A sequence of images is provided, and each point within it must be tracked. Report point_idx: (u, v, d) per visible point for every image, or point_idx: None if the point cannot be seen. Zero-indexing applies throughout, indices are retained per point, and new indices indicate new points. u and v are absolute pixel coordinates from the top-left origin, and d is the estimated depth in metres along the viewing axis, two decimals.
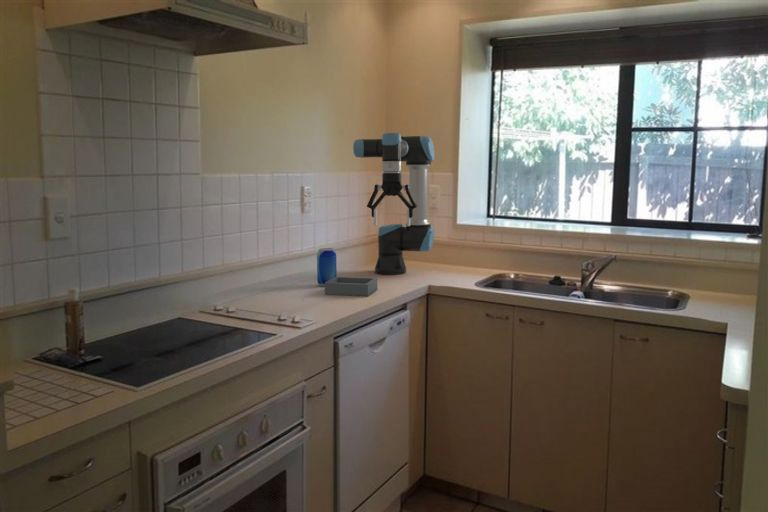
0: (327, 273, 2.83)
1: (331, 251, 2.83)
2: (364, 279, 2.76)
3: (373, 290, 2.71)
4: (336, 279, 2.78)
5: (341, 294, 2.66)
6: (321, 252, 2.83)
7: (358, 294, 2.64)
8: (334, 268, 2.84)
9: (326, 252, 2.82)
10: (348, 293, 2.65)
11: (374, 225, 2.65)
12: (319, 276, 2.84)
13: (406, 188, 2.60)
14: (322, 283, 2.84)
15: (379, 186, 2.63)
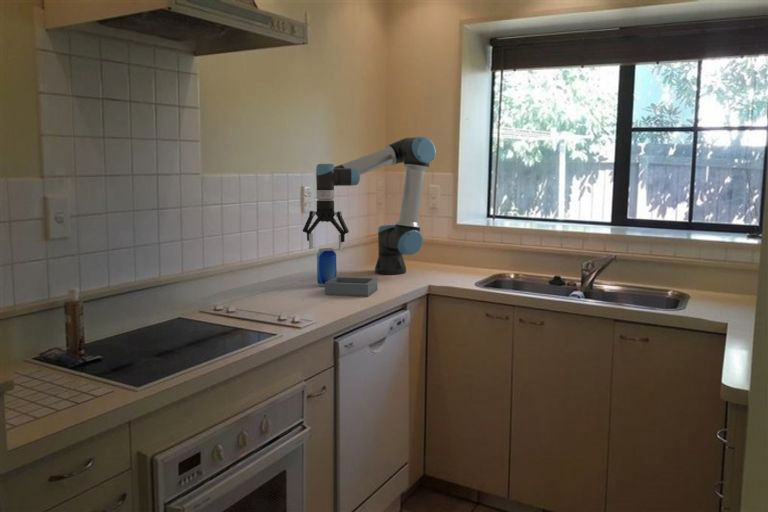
0: (327, 273, 2.83)
1: (331, 251, 2.83)
2: (364, 279, 2.76)
3: (373, 290, 2.71)
4: (336, 279, 2.78)
5: (341, 294, 2.66)
6: (321, 252, 2.83)
7: (358, 294, 2.64)
8: (334, 268, 2.84)
9: (326, 252, 2.82)
10: (348, 293, 2.65)
11: (309, 248, 2.86)
12: (319, 276, 2.84)
13: (338, 215, 2.80)
14: (322, 283, 2.84)
15: (314, 212, 2.84)
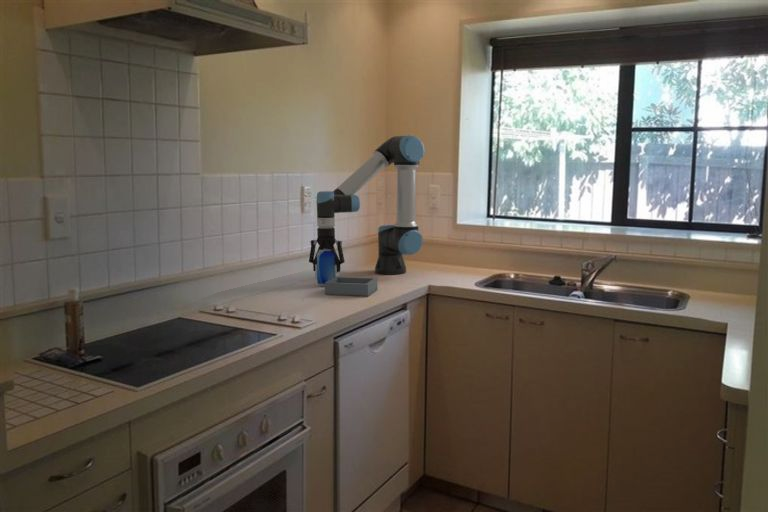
0: (327, 273, 2.83)
1: (331, 251, 2.83)
2: (364, 279, 2.76)
3: (373, 290, 2.71)
4: (336, 279, 2.78)
5: (341, 294, 2.66)
6: (321, 252, 2.83)
7: (358, 294, 2.64)
8: (334, 268, 2.84)
9: (326, 252, 2.82)
10: (348, 293, 2.65)
11: None
12: (319, 276, 2.84)
13: (338, 244, 2.82)
14: (322, 283, 2.84)
15: (315, 241, 2.86)
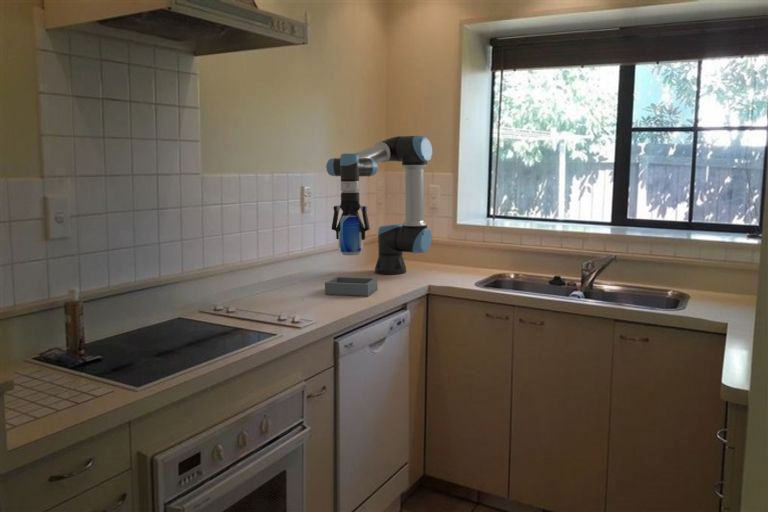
0: (352, 241, 2.65)
1: (355, 217, 2.65)
2: (364, 279, 2.76)
3: (373, 290, 2.71)
4: (336, 279, 2.78)
5: (341, 294, 2.66)
6: (345, 218, 2.65)
7: (358, 294, 2.64)
8: None
9: (350, 218, 2.64)
10: (348, 293, 2.65)
11: (339, 247, 2.69)
12: (343, 244, 2.66)
13: (363, 209, 2.65)
14: (346, 251, 2.66)
15: (338, 206, 2.68)
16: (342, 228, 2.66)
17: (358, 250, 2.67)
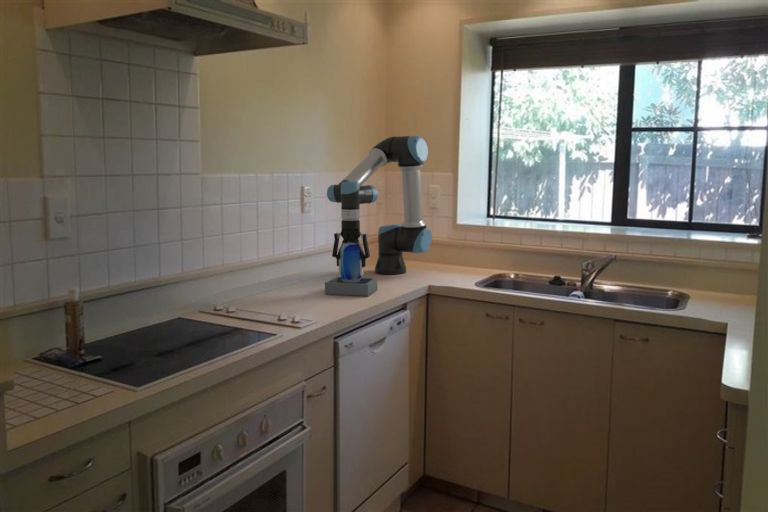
0: (352, 268, 2.67)
1: (356, 245, 2.67)
2: (364, 279, 2.76)
3: (373, 290, 2.71)
4: (336, 279, 2.78)
5: (341, 294, 2.66)
6: (345, 246, 2.66)
7: (358, 294, 2.64)
8: (359, 263, 2.68)
9: (351, 246, 2.66)
10: (348, 293, 2.65)
11: (339, 274, 2.71)
12: (343, 271, 2.68)
13: (363, 237, 2.66)
14: (346, 279, 2.68)
15: (338, 234, 2.70)
16: (342, 256, 2.67)
17: (358, 277, 2.69)
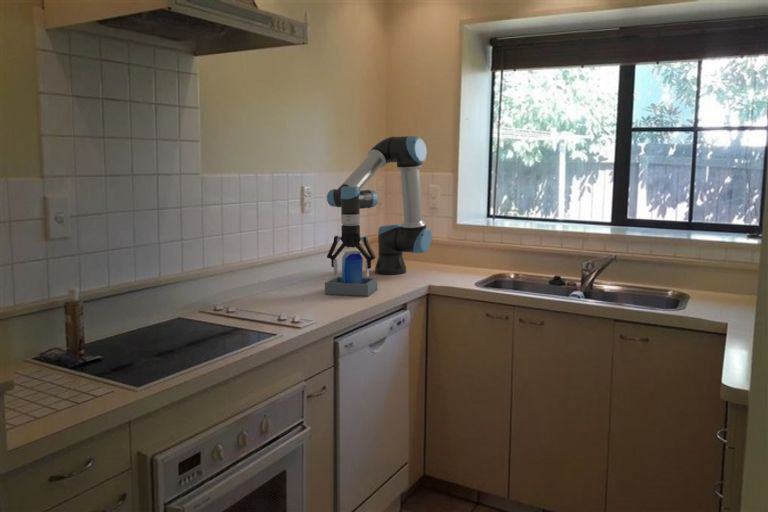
0: (353, 278, 2.68)
1: (358, 254, 2.68)
2: (364, 279, 2.76)
3: (373, 290, 2.71)
4: (336, 279, 2.78)
5: (341, 294, 2.66)
6: (347, 255, 2.67)
7: (358, 294, 2.64)
8: (360, 272, 2.69)
9: (353, 256, 2.67)
10: (348, 293, 2.65)
11: (334, 275, 2.72)
12: (344, 280, 2.69)
13: (364, 240, 2.66)
14: None
15: (338, 237, 2.70)
16: (344, 265, 2.68)
17: None
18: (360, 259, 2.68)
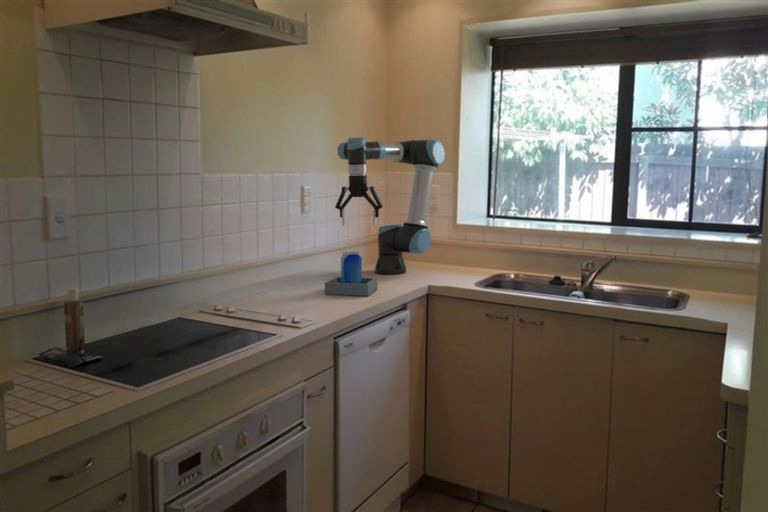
0: (352, 278, 2.67)
1: (356, 255, 2.68)
2: (364, 279, 2.76)
3: (373, 290, 2.71)
4: (336, 279, 2.78)
5: (341, 294, 2.66)
6: (346, 256, 2.67)
7: (358, 294, 2.64)
8: (359, 273, 2.69)
9: (351, 256, 2.67)
10: (348, 293, 2.65)
11: None
12: (343, 281, 2.69)
13: (371, 189, 2.74)
14: None
15: (346, 188, 2.77)
16: (343, 265, 2.68)
17: None
18: (359, 259, 2.68)
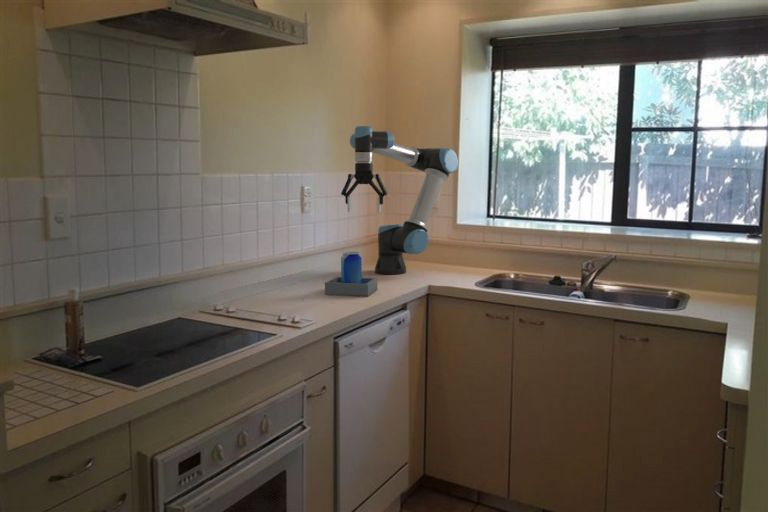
0: (352, 278, 2.67)
1: (356, 255, 2.68)
2: (364, 279, 2.76)
3: (373, 290, 2.71)
4: (336, 279, 2.78)
5: (341, 294, 2.66)
6: (346, 256, 2.67)
7: (358, 294, 2.64)
8: (359, 273, 2.69)
9: (351, 256, 2.67)
10: (348, 293, 2.65)
11: (348, 211, 2.87)
12: (343, 281, 2.69)
13: (377, 177, 2.82)
14: None
15: (352, 175, 2.85)
16: (343, 265, 2.68)
17: None
18: (359, 259, 2.68)
